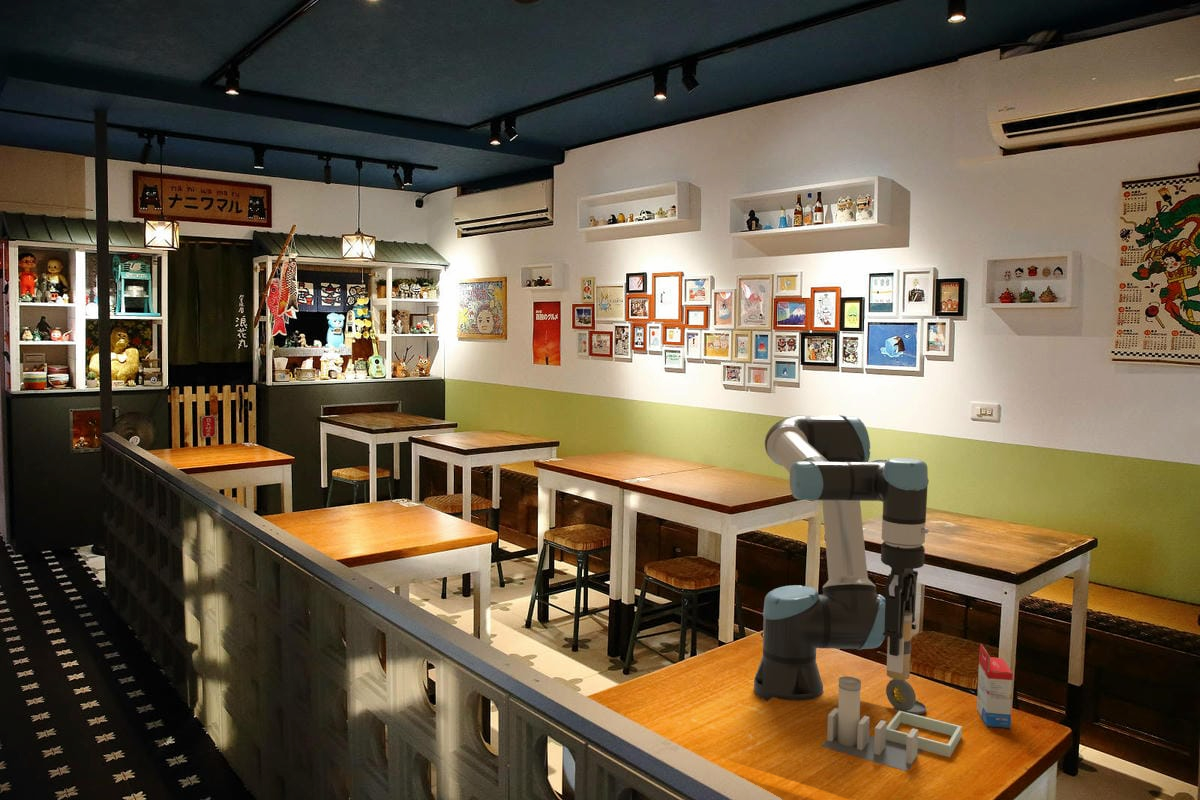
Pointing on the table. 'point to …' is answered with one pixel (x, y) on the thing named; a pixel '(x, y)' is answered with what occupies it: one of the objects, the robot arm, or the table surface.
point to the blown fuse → (905, 649)
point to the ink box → (994, 690)
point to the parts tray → (929, 725)
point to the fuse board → (874, 744)
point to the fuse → (848, 710)
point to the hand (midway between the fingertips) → (898, 666)
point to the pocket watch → (904, 697)
